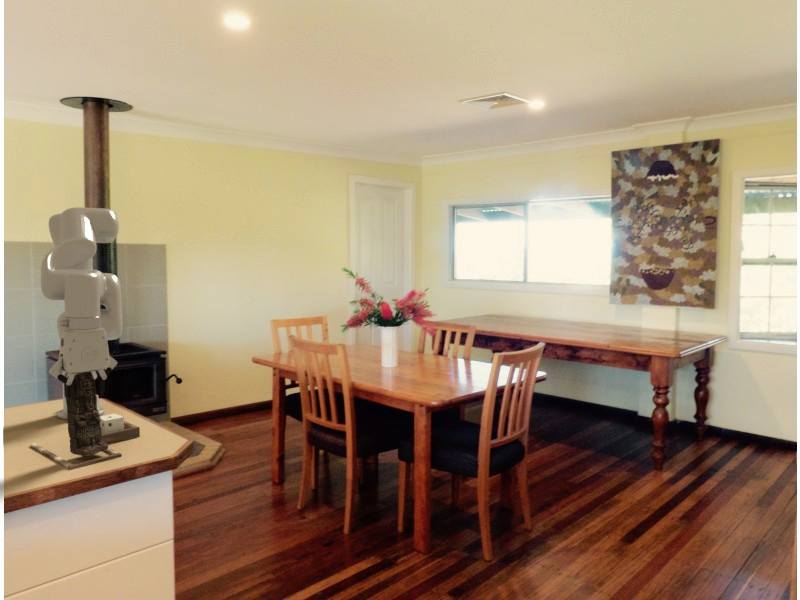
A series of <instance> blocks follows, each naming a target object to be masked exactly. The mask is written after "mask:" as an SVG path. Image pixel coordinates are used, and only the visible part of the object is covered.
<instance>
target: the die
mask: <svg viewBox="0 0 800 600" xmlns="http://www.w3.org/2000/svg"><path fill="white" fill-rule="evenodd" d="M99 416H100V418H101V422H100V426H101V430H102V434H107V433H111V432H116V431H120V430H124V421H125V417H124V416H122V415H120V414H118V413H111V414H104V415H99Z"/></svg>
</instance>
